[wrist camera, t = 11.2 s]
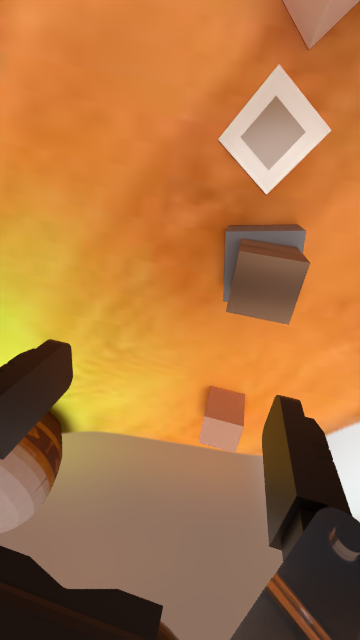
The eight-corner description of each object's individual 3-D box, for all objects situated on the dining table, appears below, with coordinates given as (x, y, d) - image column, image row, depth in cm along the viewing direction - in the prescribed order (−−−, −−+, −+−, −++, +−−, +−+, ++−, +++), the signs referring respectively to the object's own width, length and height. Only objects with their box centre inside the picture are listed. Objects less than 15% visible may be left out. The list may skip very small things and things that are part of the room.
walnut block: (281, 297, 26) (288, 324, 21) (231, 288, 27) (226, 311, 22) (297, 246, 24) (310, 262, 19) (241, 238, 25) (239, 251, 20)
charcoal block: (288, 288, 31) (294, 304, 26) (227, 286, 32) (223, 301, 28) (297, 224, 28) (306, 230, 23) (229, 225, 29) (225, 231, 25)
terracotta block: (237, 419, 41) (235, 452, 35) (205, 410, 42) (198, 442, 36) (244, 394, 38) (243, 426, 33) (210, 385, 39) (204, 416, 34)
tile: (266, 194, 27) (266, 194, 26) (218, 140, 26) (217, 139, 25) (329, 131, 24) (332, 129, 23) (278, 67, 23) (279, 63, 22)
